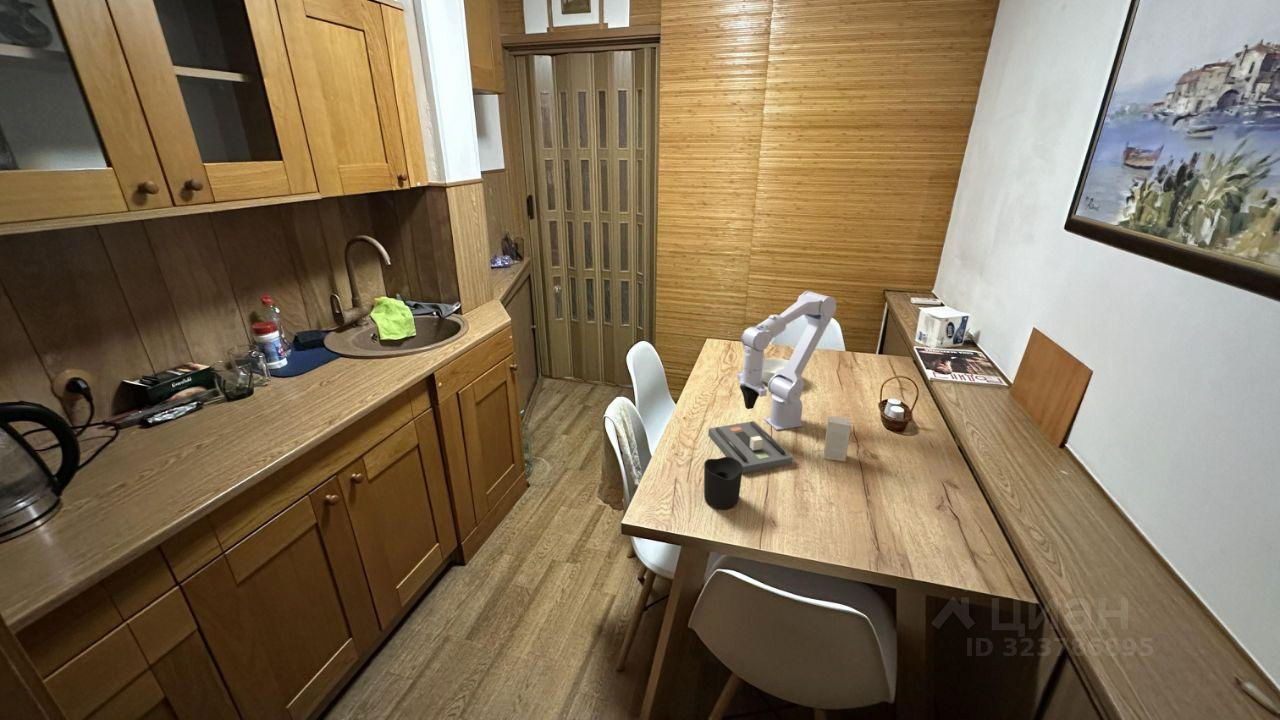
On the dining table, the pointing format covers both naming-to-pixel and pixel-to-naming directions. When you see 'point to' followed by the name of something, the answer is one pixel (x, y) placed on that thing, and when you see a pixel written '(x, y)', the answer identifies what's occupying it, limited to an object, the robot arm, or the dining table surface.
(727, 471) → the pen holder
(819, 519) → the dining table surface
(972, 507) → the dining table surface
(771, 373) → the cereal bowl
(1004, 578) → the dining table surface
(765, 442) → the breaker panel
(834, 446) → the skincare box
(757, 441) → the breaker toggle
